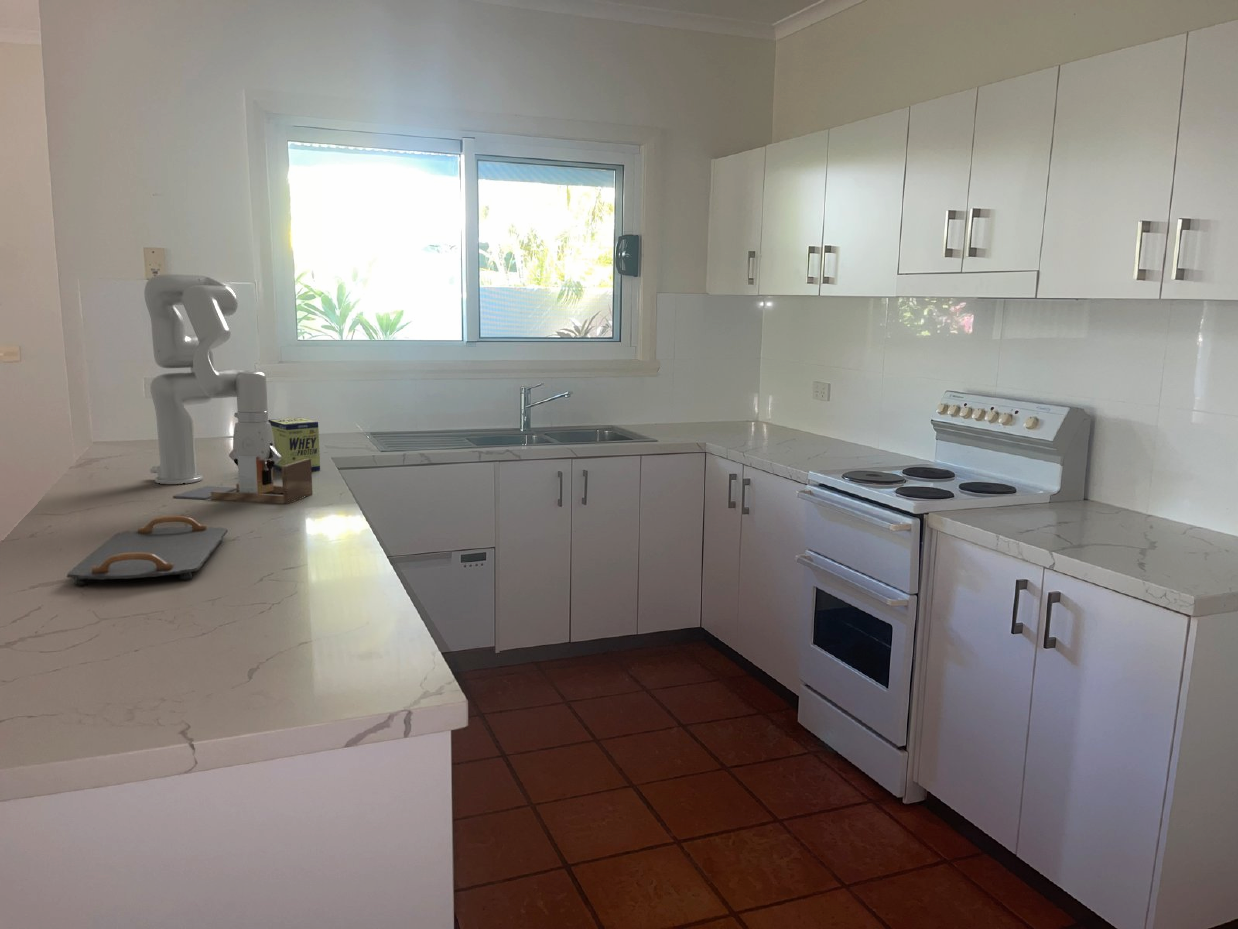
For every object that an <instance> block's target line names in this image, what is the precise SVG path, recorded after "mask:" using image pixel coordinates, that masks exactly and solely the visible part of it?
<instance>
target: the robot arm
mask: <svg viewBox="0 0 1238 929" xmlns="http://www.w3.org/2000/svg"><path fill="white" fill-rule="evenodd" d="M144 300H145V304H146V305H145V306H146V307H147V310H148V314H149V319H150V324H151V337H152V349H153V357H154V362H155V363H156V365H158V367H160V368H164V369H188V368H190V371H189V372H169V373H163V374H160V375H157V376H155V377H154V378H153V379H152V380H151V383H150V386H149V387H150V388H149V389H150V395H151V399H152V402H153V406H154V411H155V417H156V418H155V419H156V428H157V429H156V430H157V443H158V454H159V456H158V457H159V465H153V466H152V467H151V468H150V471H149V472H150V473H151V474H157V477H155V480H154V481H155V483H157V484H159V483H160V485H181V484H183V483H185V484H190V483H191V484H192V483H195V482H200V481H202V480H203V479H204V478H203V475H202V474H200V473H197V462H196V461H197V459H196V447H195V432H194V431H195V430H194V420H193V418H192V416H191V414H190V413H189V411H188V410H186V408H185V406H191V405H203V404H207V403H210V402H211V401H212V400H213V399H224V398H225V399H226V398H236V408H237V412H235V413H234V414H233V416H234V418H235V419H236V418H237V422H235V423H234V427H233V428H234V429H233V434H232V435H233V437H232V438H233V439H232V450H231V452H230V453H229V454H228V457H229V459H231V460H232V461H233V463H234V464H235V465H236V466H237V467H238V456H257V457H258V460H259V461H262V466H263V469H264V471H262V484H263V485H268V484H271V481H272V473H271V469H273V470H274V468H273V467H274V466H275V465H276V464H277V462H279V461H280V460H281V458H282V457H281V456H280V454H279V453H278V452H277V451H276V450H275V445H274V437H273V432H272V427H271V424H270V423H269V422H268V420H269V412H268V394H267V392H268V390H267V387H268V386H267V376H266V374H265V373H264V372H262V371H258V370H257V371H255V370H253V371H252V370H250V369H247V368H236V369H235V368H234V369H232V368H231V369H216V370H215V366H214V354H213V350H214V349H216V348H218V347H219V346H221V345H223V344H225V343H226V342H227V341H228V340H229V339H230V338H231V330H230V327H229V326H228V323H227V321H226V319H225V317H230V316H233V315H234V314H236V312H237V309H238V307H239V306H238V304H239V303H238V299H237V296H236V294H235V292H234V291H233V290H232V288H230V287H229V286H228V285H226V284H225V283H222V282H220V281H218V280H215V279H214V278H211V277H209V276H205V275H195V274H194V275H193V274H190V275H189V274H175V273H174V274H173V273H172V274H171V273H167V274H165V273H164V274H156V275H154V276H152V277H150V278H149V279H148V280H147V281H146V283H145V286H144ZM176 306H184V307H183V308H184V309H185V311H186V314H187V317H188V319H189V321H190V324H191V327H192V329H193V331H194V333H195V334H186V332H185V331H186V330H185V321H184V318H183V315H182V314H181V313H180V311H179V310H178V309H177V308H176ZM270 458H273V460H272V461H271V459H270ZM183 485H184V484H183Z"/></svg>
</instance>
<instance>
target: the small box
mask: <svg viewBox="0 0 1238 929" xmlns="http://www.w3.org/2000/svg"><path fill="white" fill-rule="evenodd" d="M270 459H271V461H272V458H270ZM237 468H238V470H237V472H238V475H237V476H238V483H239V491H238V492H239V493H257V494H266V493H265V492H268V491H272V490H274V487H273V485H274V468H273V469H271V473H272V481H271V484H268V485H263V484H262V471H264V469H263V466H262V461H259V460H258V457H257V456H238V466H237Z"/></svg>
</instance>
